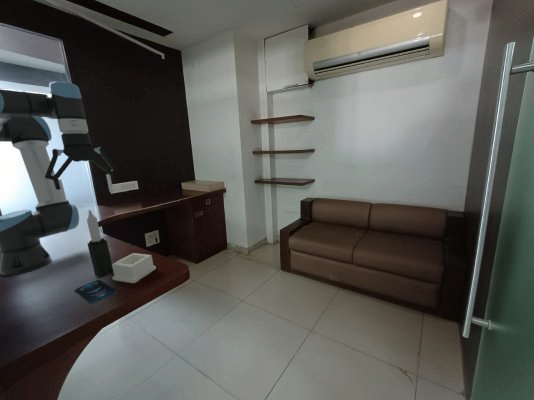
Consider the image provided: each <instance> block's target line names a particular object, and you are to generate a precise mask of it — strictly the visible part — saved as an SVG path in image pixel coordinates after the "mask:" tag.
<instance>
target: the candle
mask: <svg viewBox="0 0 534 400" xmlns="http://www.w3.org/2000/svg"><path fill="white" fill-rule="evenodd" d="M86 224H87V227H88V231H89V235H90V239H91V240H89V242H87V248H88V252H89V257H90V260H91V263H92V268H93V272H94V276H95V277H98V278H104V277H105V276H108V275H110V274H112V273H113V274H114V272H113V267H112V264H113V262H112V256H111V253H110V249H109V244H108V240H107V239H105V238H104V237H102V236H101V235H102V234H101V231H100V227H99V223H98V218H97V217H96V216H94V214H93V211H92V210H90V209H89V210H88V217H87V218H86Z"/></svg>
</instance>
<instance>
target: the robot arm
mask: <svg viewBox="0 0 534 400" xmlns="http://www.w3.org/2000/svg"><path fill="white" fill-rule="evenodd" d="M49 93H50V94H49ZM49 93H41V92H33V91H23V90H15V89H7V88H0V142H2V143H4V142H7V143H9V142H11V144H12V147H14V148H15V149H17V150H19V152H20V155H21V158H22V161H23V164H24V167H25V169H26V172H27V175H28V177H29V181H30V183H31V186H32V188H33V191H34V194H35V197H36V199H37V204H36V206H35V207H34V208H35V211H32V210H31V209H21V210H16V211H12V212H9V213H5V214H3V215H0V254H1V256H0V274H1V276H15V275H20V274H24V273H28V272H32V271H34V270H36V269H40V268H41V267H44V266H46V265H47V264H49V263H50V262H51V260H52V258H51V256H50V254H49V252H48V251H47V250H46V249H45V247H44V246H43V245H42V243H41V240H40V239H41V238H45V237H50V236H53V235H57V234H61V233H66V232H68V231H72V230H74V229H76V228H78V226H79V223H80V215H79V214H80V213H79V210H78V208H77V206H76V205H75V204H72V203H70V201H69V199H67V196H66V193H65V189H64V185H63V181H62V179H59V178H60V177H61V175H63V173H64V172H65V171H66V170H67V168H68V167H69V165H70V164H71V163H72V162H75V163H76V162H77V163H79V162H81V161H82V162H88V161H91V162H92V163H94V164H95V165H97V167H99V168H100V169H102V170H103V171H104V172H106V173H107V174H105V176H106V180H107V185H108V190H109V193H114V188H113V187H114V186H113V183H115V176H114V174H115V173H118V172H119V169H118V168H117V166H116V165H115V164H114V162H112V160H111V159H110V158H109V156H108V155H107V154H106V153H105V149H104V147H101V146H100V147H93V146H92V140H91V136H90V134H89V133H88V132H89V128H88V123H87V119H86V113H85V109H84V104H83V99H82V98H83V96H82V94H81V91H80V88H79V85H76V84H74V83H71V82H67V81H51V82H49ZM45 118H48V119H52V120H57V124H58V128H59V132H60V133H61V135H60V137H61V140H62V145H63V149H56V148H53V149H52V150H51V152H52V157H51V158H50V156H49V153H48V151H47V147H48V146H49V145H50V143H49V142H51V140H52V136H53V135H52V132H51V128H50V127H49V124H48V123H47V121H46V120H45ZM95 152H96V153H97V154H98V155H100V157H101V158H102V159H103V160H104V161H105V162H106V164H107V165H108V166H109V168H108V167H107V166H106V165H105V164H104V163H102V162H101V161H100V160H98V159H97V158H95V156H93V155H94V154H95ZM62 154H63V155H65V156H66V157H67V159H66V160H65V161H64V162H63V164H62V165H61V166H60V168H59V169H58V170H57V171H56V172H55V170H54V168H55V166H56V163H57V160H58V158H59V157H60V156H61V155H62Z"/></svg>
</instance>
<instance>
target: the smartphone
mask: <svg viewBox="0 0 534 400" xmlns="http://www.w3.org/2000/svg"><path fill="white" fill-rule="evenodd" d="M117 291H118V290H117V289H115V288H114V287H112V286H110V285H109V284H107V283H105V282H104V281H103V280H101V279H97V280H94V281H92V282H88V283H87V284H84V285H82V286H80V287H77V288H75V289H74V292H75V293H76V294H77V295H78V296H80V298H82V300H84V301H86V303H88V304H90V305H93V304H96V303H97V302H99V301H102V300H104V299H106V298H108V297H109V296H111V295H114V294H116V293H117Z"/></svg>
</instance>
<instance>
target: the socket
mask: <svg viewBox="0 0 534 400" xmlns="http://www.w3.org/2000/svg"><path fill="white" fill-rule="evenodd" d="M112 267H113V276H111V277H112V280H113V281H117V282H123V283H129V284H136V283H138V282H139V281H141V280H142V279H143V278H145V277H147V276H148V275H150V274H151V273H152V272H153V271H155V270H157V267H156V265H154V262H153V256H152V254H145V253H136V252H132V253H131V254H129V255H127V256H125V257H122V258H121V259H119V260H117V261H115V262H114V263H113V262H112Z"/></svg>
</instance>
